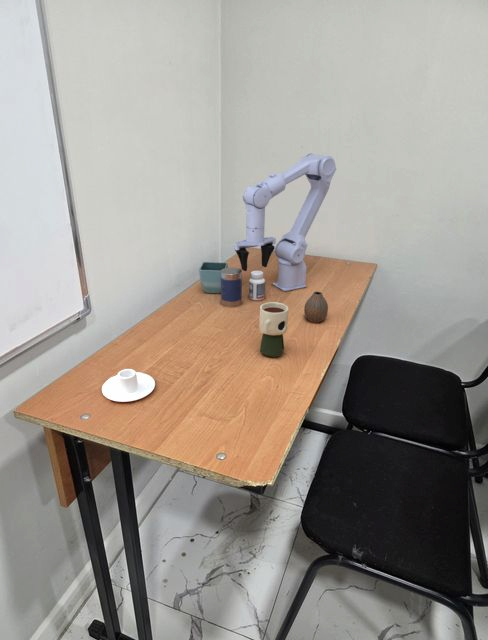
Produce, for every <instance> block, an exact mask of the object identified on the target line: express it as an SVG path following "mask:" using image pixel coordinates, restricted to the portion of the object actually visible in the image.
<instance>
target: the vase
mask: <svg viewBox="0 0 488 640" xmlns="http://www.w3.org/2000/svg"><path fill="white" fill-rule="evenodd" d="M303 311H304V316H305V318H306V320H308V321H309V322H310V323H314V324H318V323H322V322H323V321H324V320H325V319H326V318H327V315H328V313H329V305H328V302H327V299H326V298H325V297H324V296H323V293H322V292H321V291H317V290H316V291H313V293H312V294H311V296H309V298H308V299H307V300H306V302H305V304H304V309H303Z"/></svg>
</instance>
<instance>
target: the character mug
mask: <svg viewBox="0 0 488 640" xmlns="http://www.w3.org/2000/svg"><path fill="white" fill-rule="evenodd" d="M288 320H289V307H288V305H286V304H285V303H282V302H279V301H278V302H277V301H268V302H264V303H263V304H260V306H259V321H258V325H259V326H258V327H259V328H258V329H259V332H261V333H262V336H261V341H260V346H259V347H260V348H259V351H260V353H261V354H263V355H266V356H268V357H272V358H277V357H281V356H283V353H284V351H285V344H284V343H285V342H284V334H286V333H287V331H288V327H289V326H288V322H289V321H288Z"/></svg>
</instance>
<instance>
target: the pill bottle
mask: <svg viewBox="0 0 488 640" xmlns="http://www.w3.org/2000/svg"><path fill="white" fill-rule="evenodd" d="M265 296H266V278H264V272H263V271H262V270H252V271H251V272H250V278H249V280H248V298H249V299H250V300H252V301H262V300H264V299H265Z"/></svg>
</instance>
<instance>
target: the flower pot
mask: <svg viewBox="0 0 488 640" xmlns="http://www.w3.org/2000/svg"><path fill="white" fill-rule="evenodd" d="M228 264H229V263H228V262H219V261H217V262H216V261H215V262H214V261H203V262H201V265H200V267H199V269H198V274H199V280H200V284H201V287H202V289H203V291H204V292H205V293H206V294H221V270H222V269H224V268H229V267H228V266H229V265H228Z"/></svg>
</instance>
